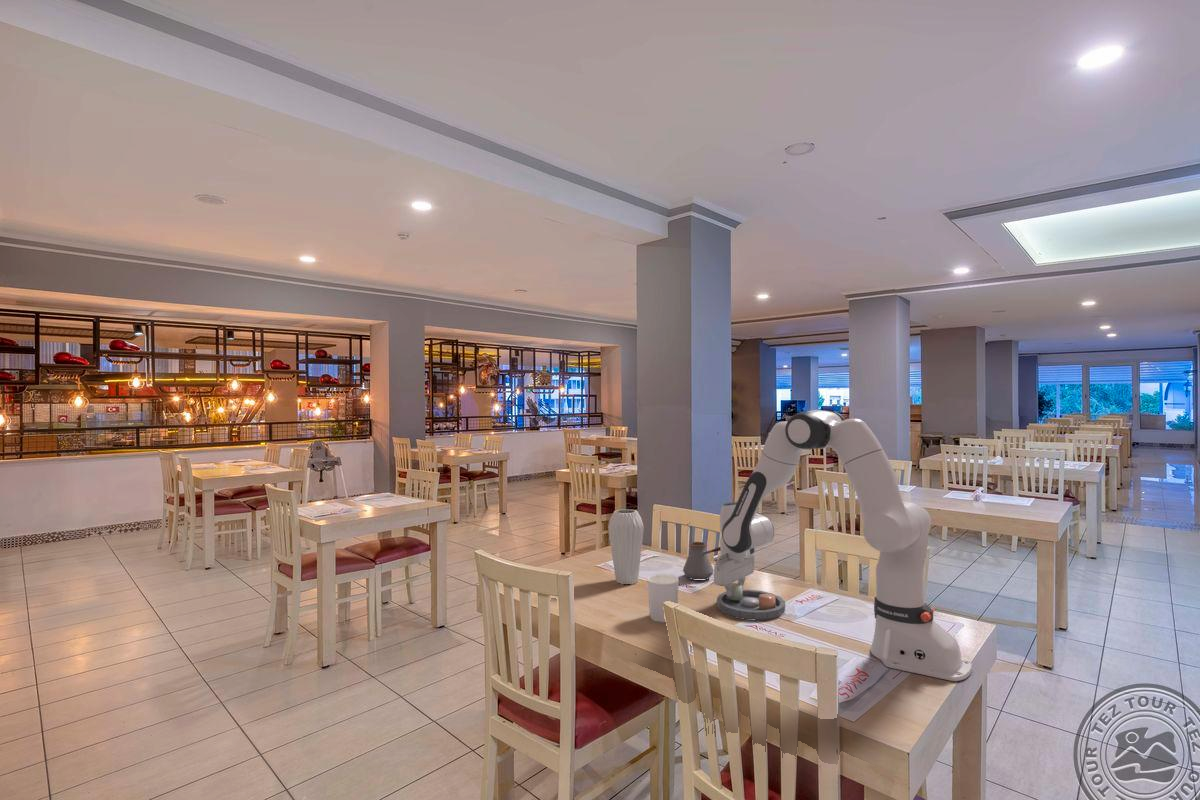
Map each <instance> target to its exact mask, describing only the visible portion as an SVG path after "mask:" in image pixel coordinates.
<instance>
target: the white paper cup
mask: <svg viewBox="0 0 1200 800" xmlns="http://www.w3.org/2000/svg"><path fill="white" fill-rule="evenodd" d="M679 580H680V579H679V578H678V577H677V576H675V575H672V574H666V573H665V574H664V573H661V574H660V573H659V574H653V575H649V576H648V577H647V578H646V581H647V595H648V606H649V607H648V608H649V616H650V619H651V620H652V621H654V622H657V621H658V622H657V623H666V622H665V619H664V610H663V602H665V601H671V602H674V603H677V604H679V585H680V584H679V582H680V581H679Z"/></svg>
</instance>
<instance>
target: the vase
mask: <svg viewBox="0 0 1200 800" xmlns="http://www.w3.org/2000/svg"><path fill="white" fill-rule="evenodd" d="M607 529H608V535H609V542H610V550H611V554H612V555H611V556H612V563H613V571H614V577H615V582H616V581H617V582H618V583H621V584H622V585H623V584H631V585H635V584H634V583H636V582H637V583H639V576H640V575H639V573H640V565H641V556H642V555H641V554H642V548H643V547H642V546H643V539H644V538H643V536H644V523H643V519H642V517H641V515H640V513H639V512H638V510H635V509H625V508H624V509H617V510H614V511H613V513H612V514H611V516H610V518H609V522H608V526H607ZM617 582H616V583H617ZM618 583H617V584H618ZM637 583H636V584H637ZM621 584H620V585H621Z"/></svg>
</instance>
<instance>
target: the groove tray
mask: <svg viewBox="0 0 1200 800" xmlns="http://www.w3.org/2000/svg"><path fill="white" fill-rule="evenodd" d="M742 593H743V599H741V600H730V599H728V598H727V595H726V591H724V592H722V593H719V594H718V595H717V598H716V605H717V609H718V611H720V612H721V613H723V614H724V615H726V614H727V615H726V616H729V615H730V616H729V617H732V616H733V617H732V618H735V617H738V618H737V619H739V618H744V619H743V620H745V619H755V620H754V621H770V620H774V619H775V620H776V619H778V618H780V616H781V615H782V614H783V613H784V611H785V612H786V601H785V600H784V599H783V598H782V597H781V596H779V595H777V594H774V593H772V592H767V591H764V590H759V589H758V590H757V589H756V590H755V589H748V588H747V589H743V590H742ZM760 594H771V595H774V596H775V608H773V609H768V610H760V609H759V595H760ZM784 614H785V613H784ZM784 614H783V615H784ZM783 615H782V616H783ZM782 616H781V617H782Z"/></svg>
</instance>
